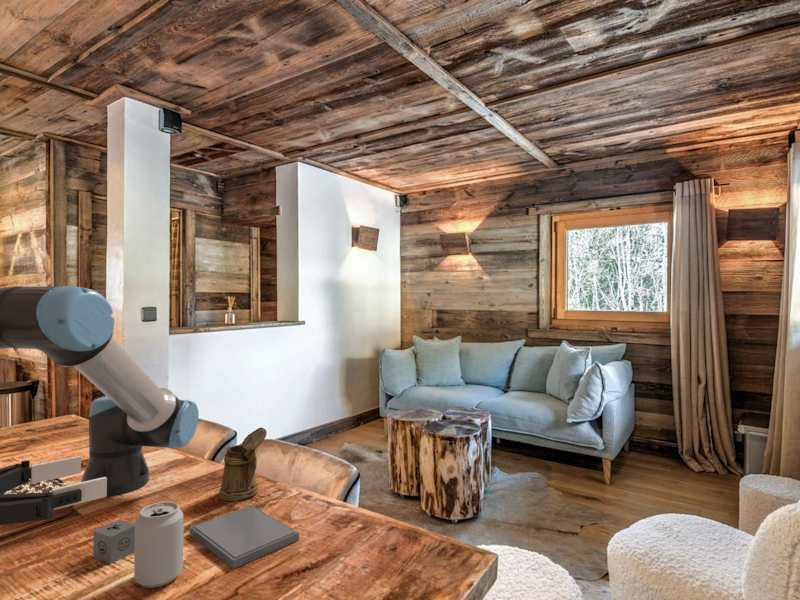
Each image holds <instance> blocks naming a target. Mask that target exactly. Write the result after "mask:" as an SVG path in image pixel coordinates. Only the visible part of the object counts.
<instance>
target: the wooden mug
mask: <svg viewBox="0 0 800 600" xmlns="http://www.w3.org/2000/svg"><path fill="white" fill-rule="evenodd" d="M267 433H268V432H267V429H266V428H264V427H259V428H256V429H255V430H253V431H252V432H250V433H249V434H248V435H247V436H246V437H244V439H243V441H242V444H239V445H237V444H236V445H233V446H229V447H227V449H226V454H224V458H223V462H224V467H223V473H222V480H221V486H220V488H219V493H218V497H219V498H220V499H221V500H223V501H226V500H227V502H238V501H244V500H248V499H251V498H253V497H254V496H255V495H257V494H258V492H259V484H258V482H257V478H256V471H257V464H258V463H257V462H258V461H257V460H258V459H257V454H256V450H257V448H258V447H259V446H260V445H262V443H263V442H264V441H265V439H266V437H267Z"/></svg>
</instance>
